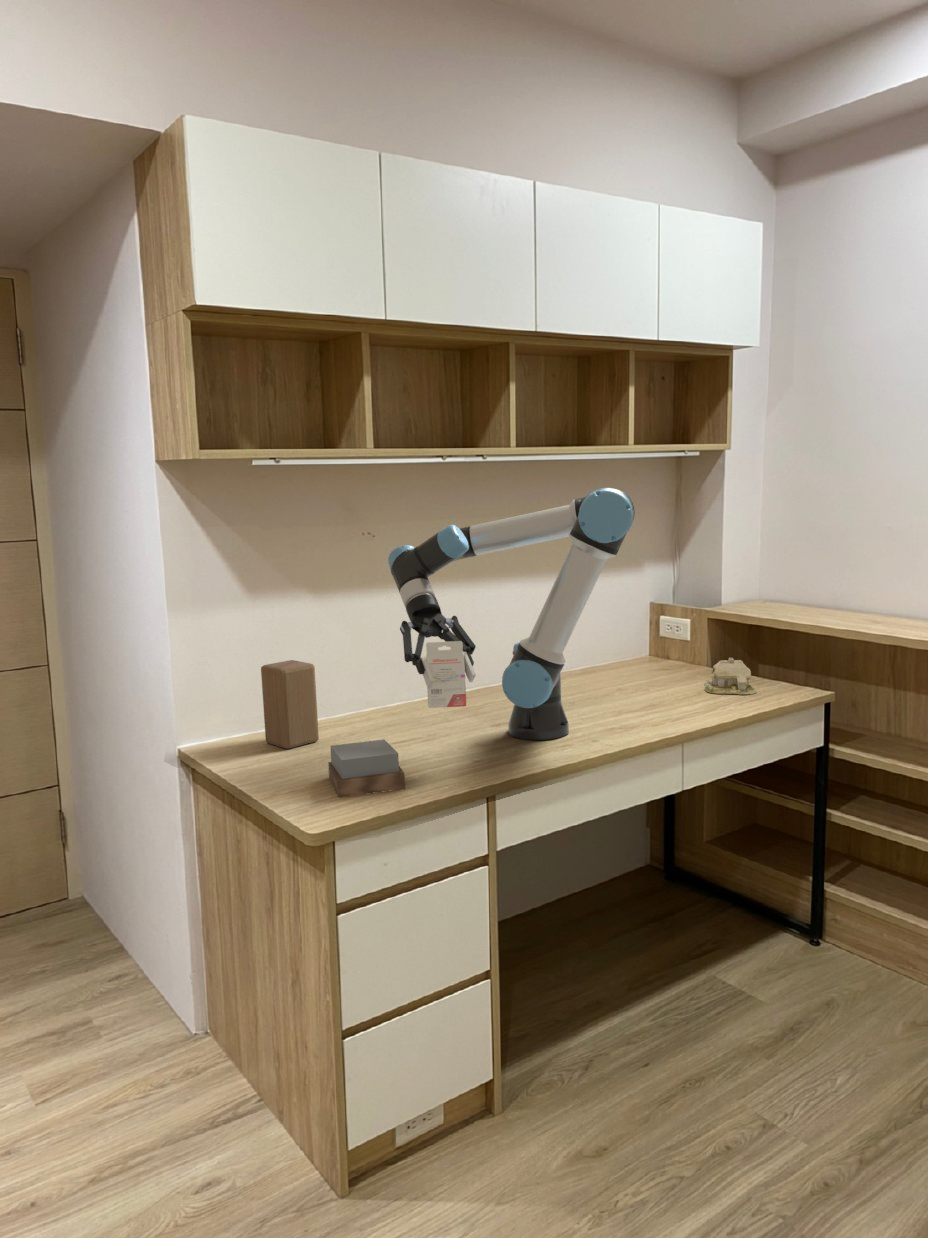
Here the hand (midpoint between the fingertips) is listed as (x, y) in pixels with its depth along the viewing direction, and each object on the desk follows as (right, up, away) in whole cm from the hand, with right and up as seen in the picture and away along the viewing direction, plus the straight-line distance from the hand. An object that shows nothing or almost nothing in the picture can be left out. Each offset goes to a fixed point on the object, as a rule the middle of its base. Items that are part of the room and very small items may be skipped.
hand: (451, 681), depth 205 cm
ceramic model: (+80, -8, +68) cm, 105 cm away
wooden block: (-40, -17, +29) cm, 53 cm away
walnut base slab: (-18, -22, -5) cm, 29 cm away
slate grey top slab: (-19, -18, -6) cm, 27 cm away
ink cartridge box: (-1, -6, +4) cm, 7 cm away
